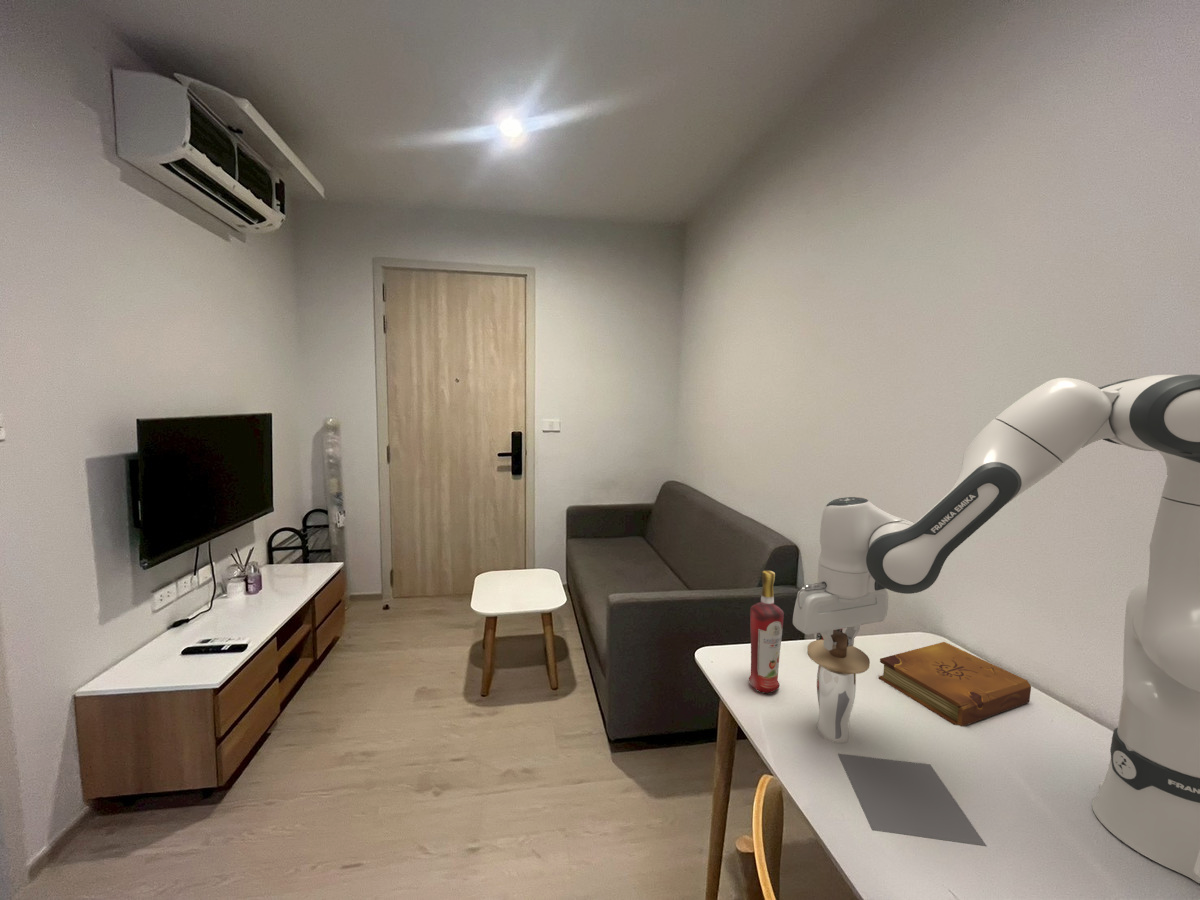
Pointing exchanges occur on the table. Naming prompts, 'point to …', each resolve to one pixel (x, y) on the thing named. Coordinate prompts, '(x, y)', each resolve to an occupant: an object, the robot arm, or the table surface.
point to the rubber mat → (907, 799)
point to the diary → (954, 683)
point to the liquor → (765, 638)
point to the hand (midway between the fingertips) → (838, 646)
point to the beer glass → (835, 703)
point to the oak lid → (839, 655)
